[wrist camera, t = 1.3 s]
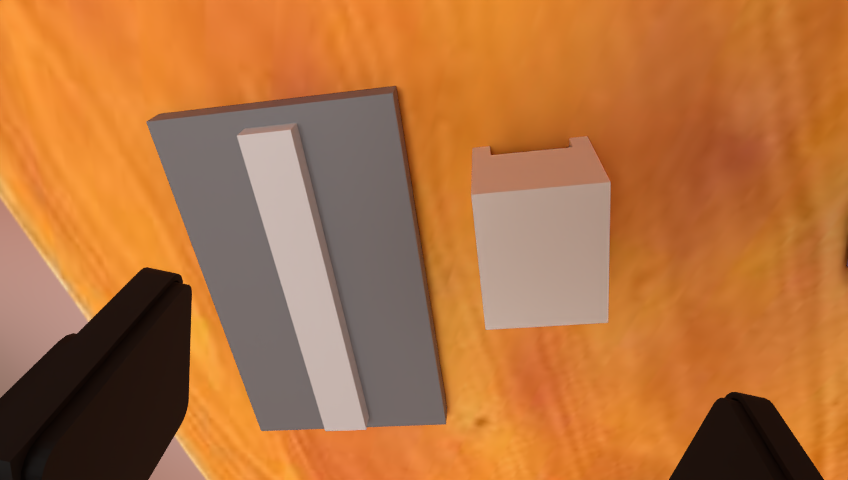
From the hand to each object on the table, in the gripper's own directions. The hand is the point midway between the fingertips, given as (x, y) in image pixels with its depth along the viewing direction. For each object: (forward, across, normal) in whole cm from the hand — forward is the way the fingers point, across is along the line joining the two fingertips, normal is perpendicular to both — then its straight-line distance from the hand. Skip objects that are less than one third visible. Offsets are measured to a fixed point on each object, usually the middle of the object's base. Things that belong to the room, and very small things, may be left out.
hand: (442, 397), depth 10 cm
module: (+24, -6, +6) cm, 25 cm away
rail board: (+24, +6, +14) cm, 29 cm away
